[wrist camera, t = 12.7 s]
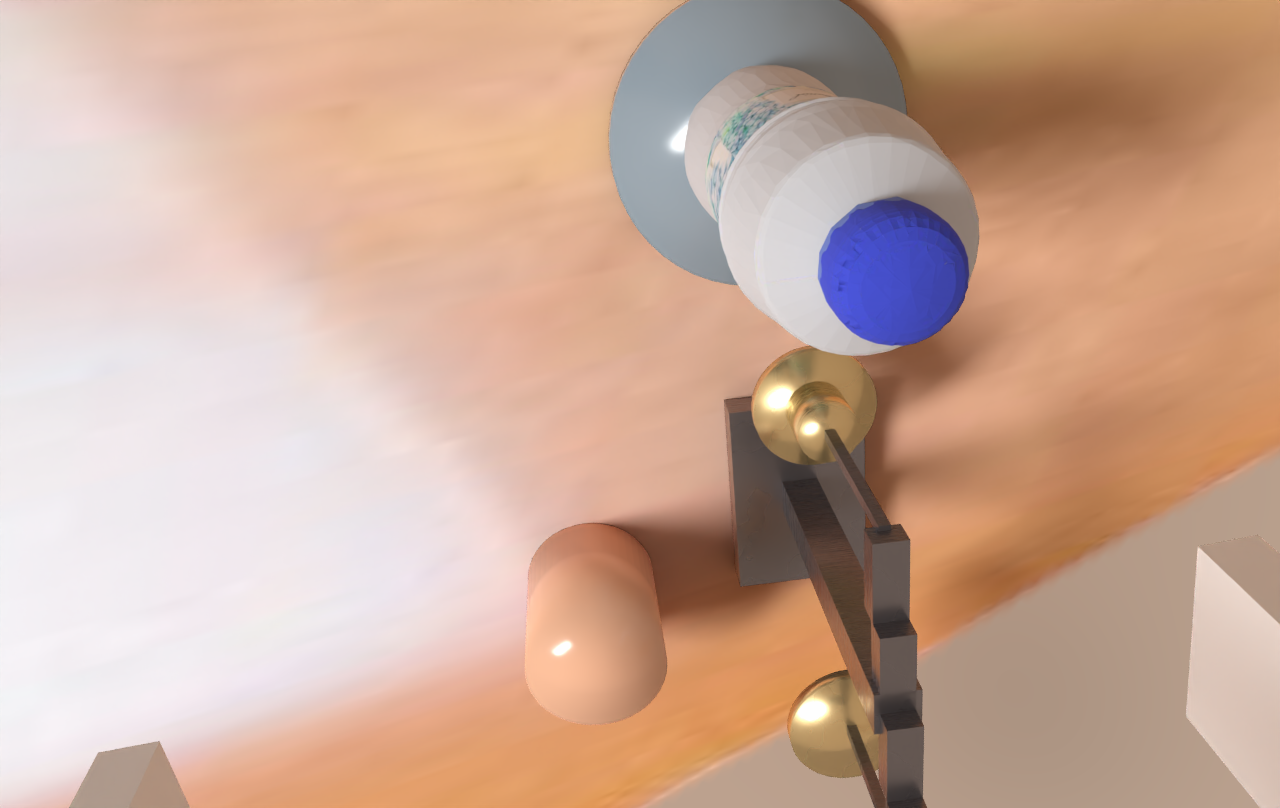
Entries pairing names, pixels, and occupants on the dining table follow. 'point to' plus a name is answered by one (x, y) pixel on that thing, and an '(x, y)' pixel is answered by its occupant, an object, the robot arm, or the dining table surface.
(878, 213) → the bottle
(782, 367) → the balance
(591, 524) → the peach rounded capsule
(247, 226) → the dining table surface
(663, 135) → the dish
